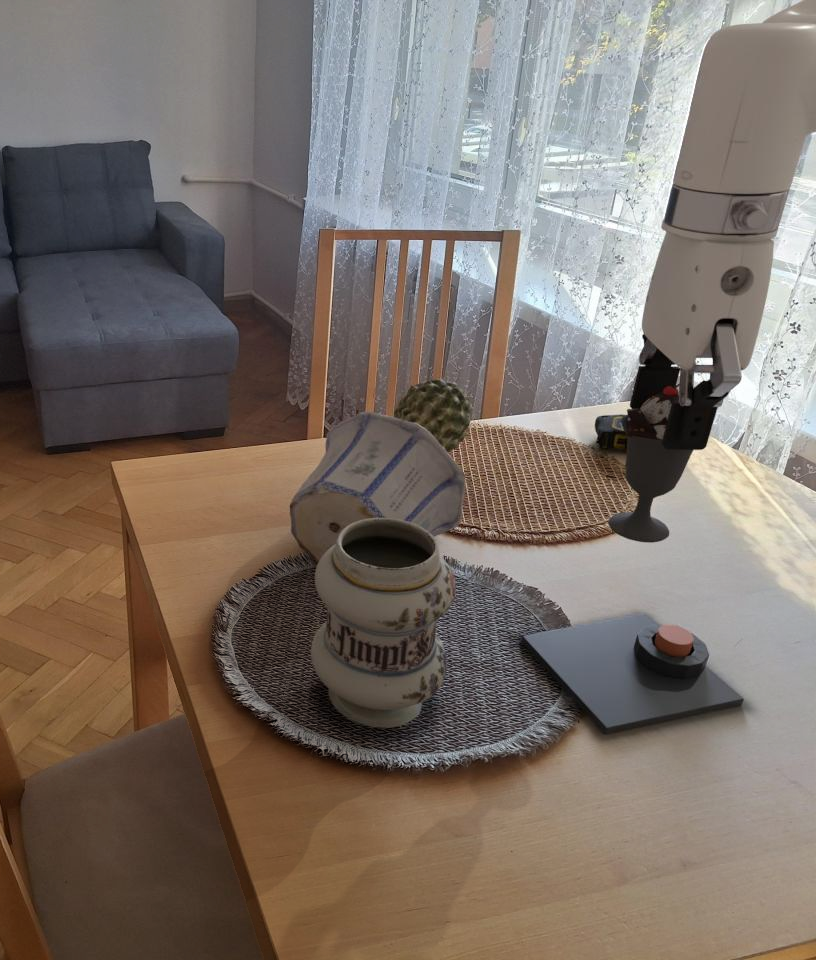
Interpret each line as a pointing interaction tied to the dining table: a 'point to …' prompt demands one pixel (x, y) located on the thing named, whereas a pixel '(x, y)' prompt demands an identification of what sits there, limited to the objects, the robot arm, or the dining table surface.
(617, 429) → the tape measure
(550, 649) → the scale
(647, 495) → the sundae
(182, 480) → the dining table surface
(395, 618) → the apothecary jar
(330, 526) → the potted plant
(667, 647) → the button
